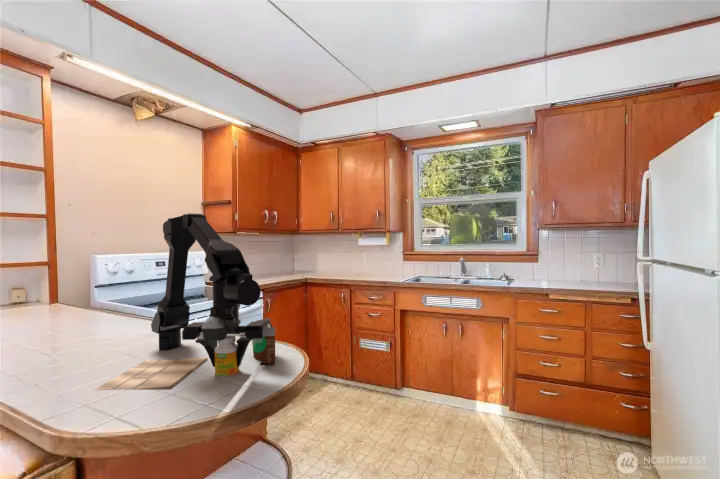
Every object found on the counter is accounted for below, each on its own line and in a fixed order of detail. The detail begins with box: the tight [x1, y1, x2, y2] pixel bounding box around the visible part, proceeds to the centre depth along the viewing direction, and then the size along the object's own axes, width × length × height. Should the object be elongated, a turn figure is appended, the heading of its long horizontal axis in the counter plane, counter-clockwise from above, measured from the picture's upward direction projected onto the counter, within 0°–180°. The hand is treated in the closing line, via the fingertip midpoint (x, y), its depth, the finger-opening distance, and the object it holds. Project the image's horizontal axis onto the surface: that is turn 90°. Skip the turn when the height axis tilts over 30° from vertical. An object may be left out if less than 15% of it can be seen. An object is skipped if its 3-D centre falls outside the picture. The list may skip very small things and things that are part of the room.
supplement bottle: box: [214, 334, 240, 377], centre depth 84 cm, size 5×5×10 cm
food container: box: [251, 318, 276, 366], centre depth 95 cm, size 12×6×10 cm, turn 21°
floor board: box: [93, 359, 176, 391], centre depth 84 cm, size 18×8×1 cm, turn 0°
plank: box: [132, 357, 208, 390], centre depth 84 cm, size 18×8×1 cm, turn 0°
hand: (227, 366), depth 84 cm, fingers closed on supplement bottle, 5 cm apart
